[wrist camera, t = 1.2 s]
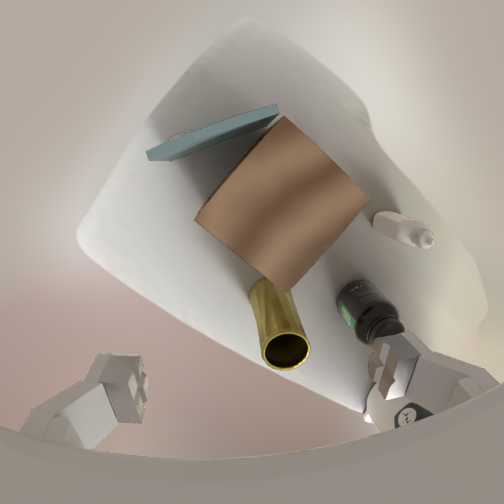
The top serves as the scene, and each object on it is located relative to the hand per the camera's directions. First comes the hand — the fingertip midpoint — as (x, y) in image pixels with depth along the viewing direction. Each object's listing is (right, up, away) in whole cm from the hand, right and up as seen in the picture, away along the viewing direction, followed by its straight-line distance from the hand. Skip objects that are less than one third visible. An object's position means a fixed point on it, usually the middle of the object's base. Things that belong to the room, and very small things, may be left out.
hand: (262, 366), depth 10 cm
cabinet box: (+2, +11, +31) cm, 33 cm away
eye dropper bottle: (+20, +8, +33) cm, 39 cm away
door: (-5, +19, +27) cm, 33 cm away
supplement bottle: (+16, -4, +36) cm, 40 cm away
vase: (+2, -3, +35) cm, 35 cm away
